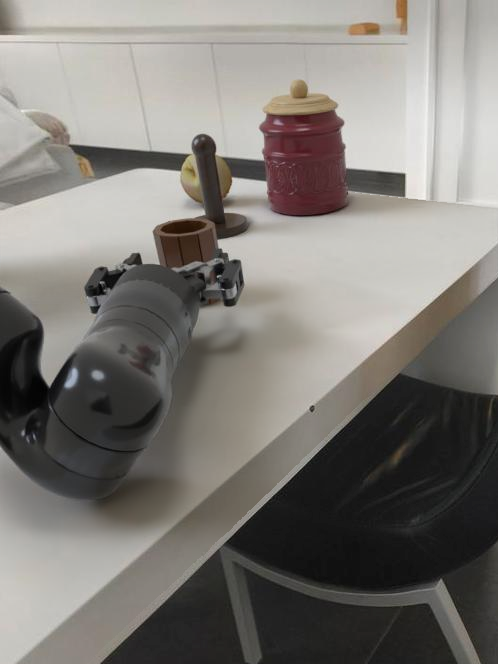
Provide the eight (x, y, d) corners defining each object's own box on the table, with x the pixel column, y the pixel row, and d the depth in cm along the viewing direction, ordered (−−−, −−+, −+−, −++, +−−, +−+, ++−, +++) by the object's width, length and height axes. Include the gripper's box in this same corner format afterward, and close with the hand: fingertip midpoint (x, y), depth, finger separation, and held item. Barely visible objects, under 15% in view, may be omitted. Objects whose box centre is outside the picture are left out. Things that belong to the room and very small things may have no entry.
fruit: (181, 201, 115) (172, 150, 111) (230, 195, 118) (222, 144, 113) (189, 213, 110) (179, 159, 105) (240, 205, 112) (232, 152, 107)
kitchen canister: (252, 208, 110) (235, 82, 100) (310, 190, 118) (300, 72, 107) (306, 222, 103) (294, 87, 92) (365, 202, 110) (360, 76, 100)
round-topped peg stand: (203, 243, 97) (186, 143, 89) (176, 229, 103) (157, 134, 95) (259, 229, 101) (246, 132, 93) (229, 217, 107) (215, 125, 99)
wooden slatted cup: (185, 318, 75) (169, 240, 70) (160, 301, 80) (143, 226, 75) (236, 302, 78) (224, 226, 73) (210, 287, 83) (196, 214, 78)
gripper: (222, 276, 56) (242, 219, 69) (49, 285, 56) (101, 226, 69) (236, 358, 61) (252, 290, 74) (76, 367, 61) (120, 298, 74)
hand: (179, 259), depth 71 cm, fingers open, 8 cm apart
